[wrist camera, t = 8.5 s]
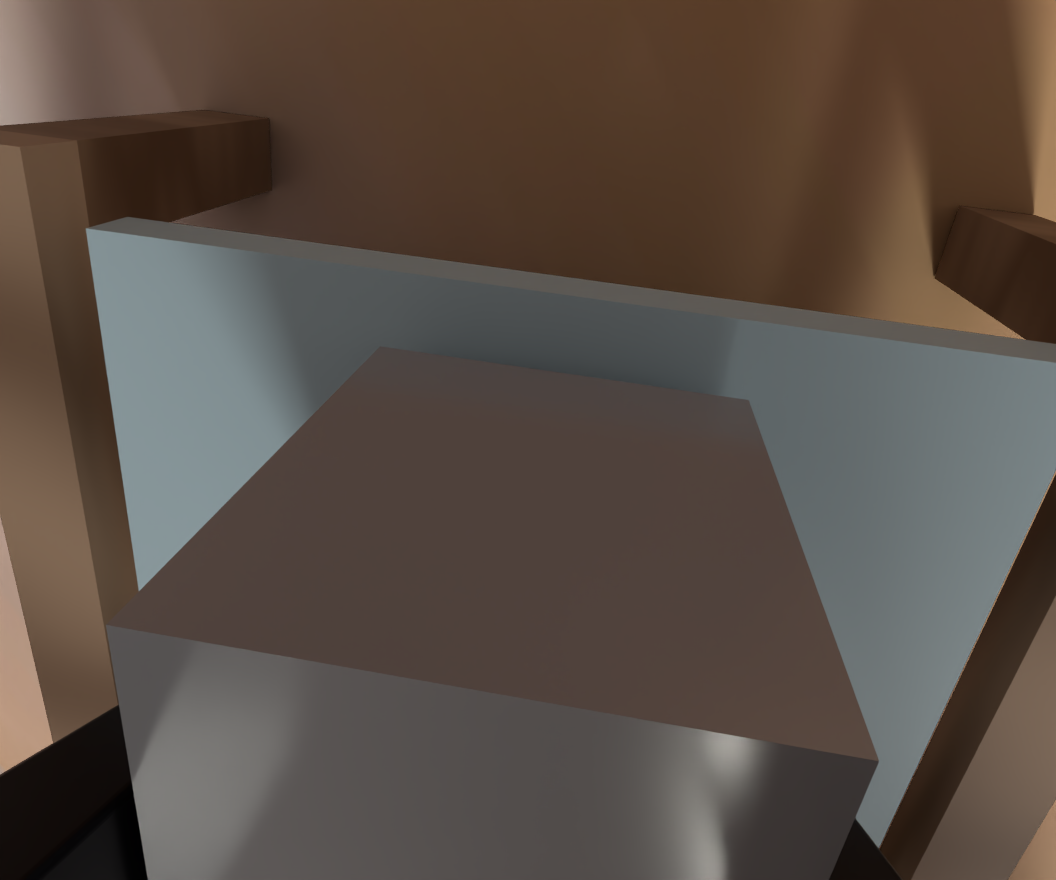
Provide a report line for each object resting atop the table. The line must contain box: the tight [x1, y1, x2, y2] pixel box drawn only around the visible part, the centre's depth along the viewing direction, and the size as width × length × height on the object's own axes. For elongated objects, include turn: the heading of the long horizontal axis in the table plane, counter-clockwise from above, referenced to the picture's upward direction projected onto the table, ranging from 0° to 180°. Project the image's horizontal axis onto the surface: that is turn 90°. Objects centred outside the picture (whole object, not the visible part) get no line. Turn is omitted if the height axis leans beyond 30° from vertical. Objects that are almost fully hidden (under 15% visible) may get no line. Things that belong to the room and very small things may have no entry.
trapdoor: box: [86, 217, 1056, 848], centre depth 18 cm, size 20×14×6 cm
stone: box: [106, 346, 879, 880], centre depth 9 cm, size 5×5×6 cm
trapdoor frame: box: [0, 110, 1056, 880], centre depth 18 cm, size 22×19×8 cm
